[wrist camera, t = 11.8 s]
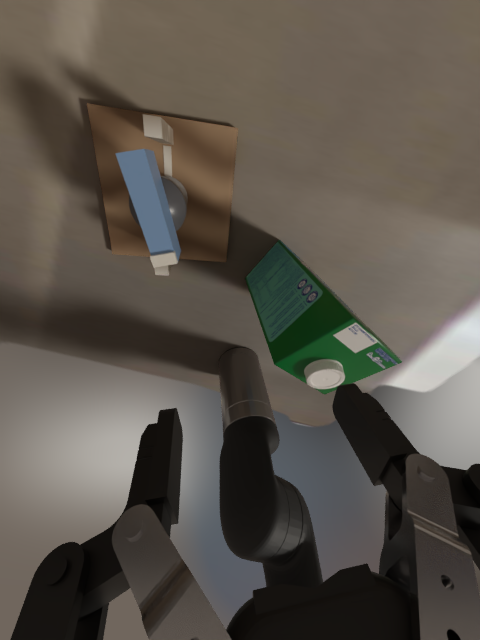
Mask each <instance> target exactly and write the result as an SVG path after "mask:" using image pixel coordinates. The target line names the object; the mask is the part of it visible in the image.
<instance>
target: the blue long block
mask: <svg viewBox="0 0 480 640" xmlns="http://www.w3.org/2000/svg"><path fill="white" fill-rule="evenodd" d="M115 154H116V157H117V160H118V163H119V165H120V168H121V171H122V174H123V177H124V180H125V183H126V185H127V188H128V191H129V194H130V195H129V208H130V212H131V214H132V216H133V218H134V220H135V221H136V223H137V224H138V225H139V226H140V227H141V228H142V231H143V234H144V237H145V240H146V242H147V245H148V248H149V251H150V254H151V255H150V259H151V261H152V264H153V267H154V268H155V267H161V266H167V265H173V264H177V263H178V260H179V257H180V253H181V248H180V245H179V241H178V238H177V234H176V231H177V230H178V229H179V228H180V227H181V226H182V224H183V222H184V220H185V217H186V213H187V204H186V200H185V197H184V194H183V193H182V191H181V189H180V188H179V187H178V186H177V185H176V184H175V183H174V182H173V181H171V180H170V179H168V178H166V177H163V176H160V172H159V169H158V165H157V161H156V158H155V154H154V151H152V150H148V149H139V150H133V151H126V152H120V153H115Z"/></svg>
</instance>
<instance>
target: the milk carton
mask: <svg viewBox="0 0 480 640" xmlns="http://www.w3.org/2000/svg"><path fill="white" fill-rule="evenodd" d="M245 280H246V283H247V286H248V289H249V291H250V294H251V297H252V300H253V303H254V306H255V309H256V312H257V315H258V318H259V321H260V324H261V327H262V330H263V333H264V335H265V338H266V341H267V344H268V347H269V350H270V353H271V356H272V359H273V362H274V364H275V365H276V366H278V367H280V368H281V369H283V370H285V371H286V372H288V373H290V374H291V375H293V376H295V377H296V378H298V379H300V380H301V381H303V382H305V383H306V384H308V385H309V386H310V387H312V388H315V389H316V390H318V391H320V392H321V393H323V394H327V393H329V392H332V391H334V390H337V387H338V386H339V385H344V384H351V383H353V382H356V381H358V380H361V379H363V378H365V377H368V376H370V375H373V374H375V373H378V372H380V371H382V370H385V369H387V368H390V367H392V366H394V365H397V364H399V363H401V362H402V361H401V360H400V359H399V358H398V357H397V356H396V355H395V354H394V353H393V351H392V350H391V349H390V348H389V347H388V346H387V345H386V344H385V343H384V342H383V341H382V340H381V339H380V338H379V337H378V336H377V335H376V334H375V333H374V332H373V331H372V330H371V329H370V328H369V327H368V326H367V325H366V324H365V323H364V322H363V321H362V320H361V319H360V318H359V317H358V316H357V315H356V314H355V313H354V312H353V311H352V310H351V309H350V308H349V307H348V306H347V305H346V304H345V303H344V302H343V301H342V300H341V299H340V298H339V297H338V296H337V295H336V294H335V293H334V292H333V291H332V290H331V289H330V288H329V287H328V286H327V285H326V284H325V283H324V282H323V281H322V280H321V279H320V278H319V277H318V276H317V275H316V274H315V273H314V272H313V271H312V270H311V269H310V268H309V267H308V266H307V265H306V264H305V263H304V262H303V261H302V260H301V259H300V258H299V257H298V256H296V255H295V254H294V253H293V252H292V251H291V250H290V249H289V248H288V247H287V246H286V245H285V244H284V243H283V242H282V241H280V240H278V242H277V243H276V244H275V245H274V246H273V247H272V248H271V249H270V251H269V252H268V253H267V254H266V255H265V256H264V257H263V259H262V260H261V261H260V262H259V263H258V264H257V265H256V266H255V268H254V269H253V270H252V271H251V272H250V273H249V274H248V275H247V277H246V278H245Z"/></svg>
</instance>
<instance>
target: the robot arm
mask: <svg viewBox="0 0 480 640" xmlns="http://www.w3.org/2000/svg"><path fill="white" fill-rule="evenodd" d="M219 378H220V393H221V406H222V407H221V408H222V421H223V438H224V442H223V446H222V450H221V455H220V517H221V526H222V530H223V535H224V538H225V541H226V543H227V545H228V547H229V548H230V550H231V551H232V552H233V553H234V554H235V555H236V556H238V557H240V558H242V559H246V560H250V561H255V562H261V563H263V568H264V573H265V579H266V586H267V587H265V588H261V589H257V590H253V598H251V599H250V600H248V601H247V602H246V603H245V604H244V605H243V606H242V607H241V608H240V609H239V610H238V611H237V613H236V614H235V615H234V617H233V618H232V620H231V622H230V623H229V625H228V627H227V629H225V628H224V626H223V624H222V623H221V621H220V619H219V618H218V616H217V615H216V613H215V611H214V610H213V608H212V606H211V605H210V603H209V601H208V600H207V598H206V596H205V595H204V593H203V591H202V590H201V588H200V586H199V585H198V583H197V581H196V580H195V578H194V576H193V575H192V573H191V572H190V570H189V569H188V567H187V566H186V564H185V563H184V561H183V559H182V558H181V556H180V555H179V553H178V551H177V549H176V548H175V546H174V545H173V543H172V541H171V540H170V529H171V525H172V524H178V515H179V497H180V479H181V461H182V442H183V438H182V437H183V435H182V427H181V423H180V419H179V415H178V412H177V409H176V408H174V409H166V410H160V412H159V416H158V422H157V423H155V424H149V425H148V426H147V428H146V429H145V431H144V433H143V434H142V436H141V440H140V445H139V451H138V454H137V461H136V464H135V469H134V474H133V478H132V483H131V488H130V492H129V497H128V501H127V505H126V507H125V509H124V512H123V513H122V515H121V516H120V518H119V519H118V520H117V521H116V522H115V523H114V524H113V525H112V526H111V527H110V528H108V529H107V530H105V531H104V532H102V533H100V534H99V535H97V536H95V537H93V538H91V539H90V540H88V541H86V542H84V543H83V544H81V545H79V544H78V543H75V542H68V543H65V544H62V545H60V546H58V547H57V548H56V549H54V550H53V551H52V552H51V553H49V554H48V555H47V557H46V558H45V559H44V560H43V561H42V563H41V564H40V566H39V567H38V569H37V571H36V572H35V574H34V577H33V579H32V582H31V585H30V587H29V590H28V593H27V596H26V598H25V601H24V604H23V607H22V609H21V612H20V615H19V618H18V621H17V623H16V626H15V629H14V632H13V634H12V638H11V640H103V636H104V629H105V624H106V617H107V611H108V605H109V602H110V601H112V600H113V599H115V598H116V597H118V596H119V595H120V594H122V593H123V592H125V591H126V590H128V589H129V588H131V590H132V592H133V594H134V597H135V599H136V602H137V604H138V606H139V609H140V611H141V614H142V621H143V625H144V628H145V630H146V633H147V636H148V638H149V640H480V595H479V589H478V584H477V579H476V574H475V569H474V564H473V561H474V562H475V563H476V565H477V567H478V568H479V570H480V464H474V465H472V466H471V467H470V468H469V469H468V470H461V469H456V468H450V467H444V466H440V465H439V464H438V463H436V462H435V461H434V460H432V459H430V458H429V457H427V456H424V455H421V454H420V453H419V452H417V450H416V449H415V448H414V447H413V445H412V444H411V443H410V442H409V440H408V439H407V438H406V437H405V435H404V434H403V433H402V431H401V430H400V429H399V428H398V426H397V425H396V424H395V423H394V421H393V420H391V417H390V416H389V415H388V414H387V412H385V411H384V409H383V407H382V406H381V405H380V404H379V402H378V401H377V400H376V399H374V398H373V397H371V396H370V395H369V394H368V393H362V392H361V390H360V389H359V388H358V386H357V385H356V384H354V383H351V384H344V385H339V386H338V387H337V390H336V394H335V398H334V401H333V413H334V415H335V418H336V419H337V421H338V423H339V424H340V426H341V428H342V430H343V432H344V434H345V435H346V437H347V439H348V441H349V442H350V444H351V446H352V448H353V450H354V451H355V453H356V455H357V457H358V458H359V460H360V462H361V464H362V466H363V467H364V469H365V471H366V473H367V474H368V476H369V478H370V480H371V482H372V483H373V485H374V486H376V485H381V484H383V485H384V486H385V488H386V490H387V491H386V497H385V501H386V502H385V531H384V545H383V549H382V552H381V558H380V566H379V574H378V573H375V572H371V571H370V568H369V566H368V564H363V565H359V566H355V567H350V568H346V569H342V570H340V571H338V572H337V573H336V574H334V575H333V576H331V577H330V578H329V579H327V580H326V581H325V582H323V579H322V574H321V568H320V563H319V558H318V553H317V547H316V542H315V537H314V532H313V527H312V522H311V518H310V514H309V510H308V507H307V505H306V503H305V501H304V498H303V496H302V495H301V493H300V492H299V491H298V489H297V488H296V487H295V486H293V485H292V484H291V483H290V482H288V481H286V480H284V479H282V478H280V477H278V476H276V475H274V471H273V466H272V460H271V454H272V453H274V452H275V451H276V449H277V448H278V445H279V434H278V431H277V427H276V423H275V419H274V416H273V412H272V408H271V405H270V401H269V397H268V393H267V390H266V386H265V382H264V378H263V375H262V371H261V367H260V363H259V360H258V357H257V355H256V353H255V352H254V351H252V350H250V349H248V348H242V347H240V348H234V349H231V350H228V351H227V352H225V353H224V354H223V355H222V356H221V358H220V360H219Z"/></svg>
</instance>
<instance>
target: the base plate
mask: <svg viewBox="0 0 480 640" xmlns="http://www.w3.org/2000/svg"><path fill="white" fill-rule="evenodd" d="M87 108H88V113H89V119H90V125H91V131H92V137H93V143H94V149H95V154H96V160H97V166H98V172H99V178H100V184H101V189H102V195H103V201H104V207H105V213H106V219H107V224H108V230H109V236H110V242H111V248H112V254H119V255H133V256H147V257H150V255H151V254H150V251H149V248H148V245H147V242H146V240H145V237H144V234H143V231H142V228H141V227H140V226H139V225H138V224H137V223H136V221H135V220H134V218H133V216H132V214H131V212H130V208H129V195H130V194H129V191H128V188H127V185H126V183H125V180H124V177H123V174H122V171H121V168H120V165H119V163H118V160H117V157H116V154H115V153H120V152H126V151H133V150H139V149H148V150H152V151H154V154H155V158H156V161H157V165H158V169H159V172H160V176H163V177H166V178H168V179H170V180H171V181H173V182H174V183H175V184H176V185H177V186H178V187H179V188H180V189H181V191H182V193H183V194H184V197H185V200H186V204H187V213H186V217H185V220H184V222H183V224H182V226H181V227H180V228H179V229H178V230H177V231H176V234H177V238H178V241H179V245H180V248H181V253H180V257H179V259H189V260H203V261H217V262H226V259H227V248H228V237H229V225H230V214H231V202H232V191H233V180H234V168H235V157H236V145H237V134H238V128H235V127H229V126H222V125H216V124H210V123H204V122H198V121H192V120H186V119H180V118H174V117H168V116H162V115H156V114H150V113H144V112H137V111H131V110H125V109H119V108H113V107H107V106H101V105H95V104H89V103H87ZM171 266H172V265H167V266H161V267H155V275H167V276H168V275H169V272H170V269H171Z"/></svg>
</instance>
